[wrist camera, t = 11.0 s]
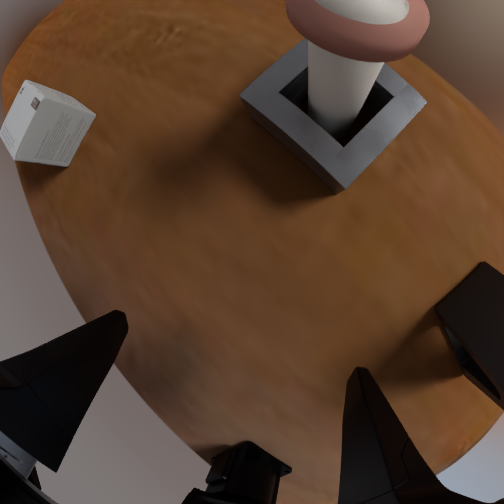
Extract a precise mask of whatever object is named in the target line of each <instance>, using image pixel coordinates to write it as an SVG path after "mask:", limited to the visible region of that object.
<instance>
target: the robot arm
mask: <svg viewBox="0 0 504 504" xmlns="http://www.w3.org/2000/svg"><path fill="white" fill-rule="evenodd" d="M127 333H128V323H127V319H126V314H125V313H124V312H122V311H119V310H114V311H112V312H109V313H107V314H105V315H103V316H101V317H99V318H97V319H95V320H93V321H91V322H89V323H86V324H84V325H82V326H80V327H78V328H76V329H74V330H72V331H70V332H68V333H66V334H64V335H62V336H59V337H57V338H55V339H53V340H51V341H49V342H47V343H45V344H43V345H41V346H39V347H37V348H34V349H33V350H30V351H27V352H25V353H22V354H20V355H17V356H14V357H12V358H9V359H6V360H3V361H1V362H0V504H58V503H56V502H55V501H54V500H52V499H51V498H50V497H48V496H47V495H46V494H44V493H43V492H42V491H41V486H40V482H39V479H38V475H37V471H36V467H35V464H36V462H37V460H38V461H39V462H40V463H42V464H44V465H45V466H47V467H48V468H49V469H51V470H52V471H54V472H57V471H58V469H59V466H60V464H61V462H62V460H63V458H64V456H65V454H66V452H67V449H68V448H69V445H70V443H71V441H72V439H73V436H74V435H75V433H76V431H77V429H78V427H79V425H80V423H81V421H82V419H83V418H84V416H85V414H86V412H87V410H88V408H89V406H90V404H91V402H92V400H93V399H94V397H95V395H96V393H97V391H98V390H99V388H100V386H101V384H102V383H103V381H104V379H105V377H106V375H107V374H108V372H109V370H110V368H111V367H112V365H113V363H114V361H115V359H116V357H117V355H118V352H119V350H120V348H121V346H122V344H123V341H124V339H125V337H126V335H127ZM210 462H211V464H212V466H211V469H210V471H209V473H208V476H207V478H206V483H207V484H208V486H207V489H206V491H201V490H200V489H197V488H193V490H192V491H191V492H190V493H189V494H188V495H187V496H186V498H185V499H184V501H183V502H182V504H276V499H277V494H278V488H279V482H280V477H282V476H285V475H287V474H289V473H291V472H292V468H291V467H289V466H288V465H286V464H285V463H283V462H281V461H280V460H278V459H277V458H275V457H274V456H272V455H270V454H269V453H267V452H266V451H264V450H263V449H262V448H260V447H259V446H257V445H256V444H254V443H253V442H246V443H244V444H242V445H240V446H237V447H235V448H233V449H229V450H227V451H225V452H223V453H221V454H218V455H216V457H213V458H212V459H211V461H210ZM338 504H504V498H502V499H500V500H498V501H496V502H494V503H485V502H481V501H478V500H475V499H471V498H469V497H466V496H463V495H461V494H458V493H455V492H453V491H450V490H449V489H447V488H446V487H444V485H443V484H442V483H441V482H440V481H439V480H438V478H437V477H436V476H435V474H434V473H433V472H432V470H431V469H430V467H429V466H428V465H427V463H426V462H425V461H424V459H423V458H422V456H421V455H420V454H419V452H418V450H417V449H416V447H415V446H414V444H413V442H412V441H411V439H410V437H409V436H408V434H407V432H406V431H405V429H404V427H403V425H402V424H401V422H400V421H399V419H398V417H397V416H396V414H395V412H394V411H393V409H392V407H391V406H390V404H389V402H388V401H387V399H386V398H385V396H384V394H383V393H382V391H381V390H380V388H379V386H378V385H377V383H376V382H375V380H374V378H373V377H372V375H371V374H370V372H369V370H368V369H367V368H364V367H356V368H355V369H354V371H353V373H352V374H351V376H350V377H349V379H348V382H347V387H346V396H345V405H344V412H343V424H342V455H341V473H340V486H339V497H338Z"/></svg>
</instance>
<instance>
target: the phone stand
mask: <svg viewBox="0 0 504 504" xmlns="http://www.w3.org/2000/svg"><path fill="white" fill-rule="evenodd" d="M435 311H436V313H437V315H438V317H439V319H440V321H441V323H442V325H443V327H444V329H445V331H446V334H447V336H448V338H449V340H450V343H451V344H452V347H453V350H454V352H455V354H456V357H457V359H458V362H459V364H460V367H461V369H462V372H463V374H464V376H465V377H466V378H467V379H468V380H470V381H471V382H472V383H473V384H474V385H475V386H477V387H478V388H479V389H480V390H481V391H482V392H484V393H485V394H486V395H487V396H488V397H489V398H490V399H492V400H493V401H494V402H495V403H496V404H497V405H498V406H500V407H501V408H502V409H503V410H504V275H503V274H501V273H500V272H499V271H497V270H496V269H495V268H493V267H492V266H491V265H489V264H488V263H486V262H485V261H484V262H483V263H482V264H481V265H480V266H479V267H478V268H477V269H476V270H475V271H474V272H473V273H472V274H471V275H470V276H469V277H468V278H467V279H466V280H465V281H464V282H463V283H462V284H461V285H460V286H458V287H457V288H456V289H455V290H454V291H453V292H452V293H451V294H450V295H449V296H448V297H446V298H445V299H444V300H443V301H442V302H441V303H440V304H438V305H437V306H436V307H435Z"/></svg>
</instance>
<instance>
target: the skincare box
mask: <svg viewBox="0 0 504 504" xmlns="http://www.w3.org/2000/svg"><path fill="white" fill-rule="evenodd" d="M95 117H96V114H94V113H93V112H92V111H91V110H89V109H88V108H87V107H85V106H84V105H83V104H81V103H80V102H79V101H77V100H76V99H74V98H73V97H71V96H69V95H66V94H64V93H61V92H59V91H56V90H54V89H51V88H48V87H46V86H43V85H40V84H37V83H35V82H32V81H29V80H25V81H24V83H23V85H22V87H21V89H20V90H19V92H18V94H17V96H16V98H15V100H14V102H13V104H12V106H11V108H10V110H9V112H8V114H7V117H6V119H5V121H4V123H3V125H2V128H1V130H0V137H1V139H2V141H3V142H4V144H5V146H6V148H7V149H8V151H9V153H10V154H11V156H12V158H13V159H14V160H15V161H25V162H33V163H40V164H48V165H56V166H63V167H68V166H69V164H70V162H71V161H72V159H73V157H74V155H75V153H76V151H77V149H78V147H79V145H80V143H81V141H82V139H83V138H84V136H85V134H86V132H87V131H88V129H89V127H90V125H91V124H92V122H93V120H94V119H95Z"/></svg>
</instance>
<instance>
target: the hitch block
mask: <svg viewBox="0 0 504 504" xmlns="http://www.w3.org/2000/svg"><path fill="white" fill-rule="evenodd" d="M239 96H240V98H241V100H242V101H243V103H244V105H245V107H246V108H247V110H248V112H249V113H250V115H251V117H252V119H253V120H254V121H256V122H257V123H258V124H259V125H260V126H262V127H263V128H264V129H265V130H266V131H267V132H269V133H270V134H271V135H272V136H273V137H275V138H276V139H277V140H278V141H279V142H280V143H281V144H283V145H284V146H285V147H286V148H287V149H288V150H289V151H290V152H292V153H293V154H294V155H295V156H296V157H297V158H298V159H299V160H300V161H301V162H302V163H304V164H305V165H306V166H307V167H308V168H309V169H310V170H311V171H312V172H313V173H314V174H315V175H316V176H317V177H318V178H319V179H320V180H321V181H322V182H323V183H324V184H325V185H327V186H328V187H329V188H330V189H331V190H332V191H333V192H334V193H335V194H338V193H340V192H341V191H343V190H345V189H346V188H347V187H348V186H349V185H350V184H351V183H352V182H353V181H354V180H355V179H356V178H357V177H358V176H359V175H360V174H361V173H362V172H363V171H364V169H365V168H366V167H367V166H368V165H369V164H370V163H371V162H372V161H373V160H374V159H375V158H376V157H377V156H378V155H379V154H380V153H381V152H382V151H383V150H384V148H385V147H386V146H387V145H388V144H389V143H390V142H391V141H392V140H393V139H394V138H395V137H396V136H397V135H398V134H399V133H400V131H401V130H402V129H403V128H404V127H405V126H406V125H407V124H408V123H409V122H410V121H411V120H412V119H413V117H414V116H415V115H416V114H417V113H418V112H419V111H420V110H421V109H422V108H423V107H424V105H425V104H426V103H427V101H426V100H425V99H424V98H423V97H422V96H421V95H420V94H419V93H418V92H417V91H416V90H415V89H414V88H413V87H412V86H411V85H409V84H408V83H407V82H406V81H405V80H404V79H403V78H402V77H401V76H400V75H398V74H397V73H396V72H395V71H394V70H393V69H391V68H390V67H389V66H388V65H387V64H385V63H384V64H383V66H382V68H381V70H380V72H379V74H378V76H377V78H376V80H375V82H374V84H373V86H372V88H371V90H370V92H369V94H368V96H367V98H366V100H365V102H364V104H363V106H362V107H363V108H364V109H365V110H366V111H368V112H369V113H370V114H371V115H372V116H373V117H374V118H373V119H372V120H371V121H370V122H369V123H368V124H367V125H366V126H365V127H364V128H363V129H362V130H361V131H360V132H359V133H358V134H357V135H356V136H355V137H354V138H353V139H352V140H351V141H350V142H349V143H348V144H347V145H346V146H345V147H342V146H341V145H340V144H339V143H338V142H337V141H336V140H335V139H334V138H333V137H332V136H331V135H329V134H328V133H327V132H326V131H325V130H324V129H323V128H322V127H320V126H319V125H318V124H317V123H316V122H315V121H313V120H312V119H311V118H310V117H309V116H308V115H306V114H305V113H304V112H303V111H302V110H300V109H299V108H298V107H297V105H298V104H299V103H300V102H301V101H303V100H304V99H305V98H306V97H307V96H308V40H307V39H306V38H305V39H303V40H302V41H301V42H299V43H298V44H297V45H296V46H294V47H293V48H292V49H291V50H289V51H288V52H287V53H286V54H285V55H283V56H282V57H281V58H280V59H279V60H277V61H276V62H275V63H274V64H273V65H272V66H270V67H269V68H268V69H267V70H266V71H265V72H264V73H262V74H261V75H260V76H259V77H258V78H257V79H256V80H255V81H254V82H252V83H251V84H250V85H249V86H248V87H247V88H246V89H245V90H244V91H243V92H242V93H241V94H240V95H239Z"/></svg>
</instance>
